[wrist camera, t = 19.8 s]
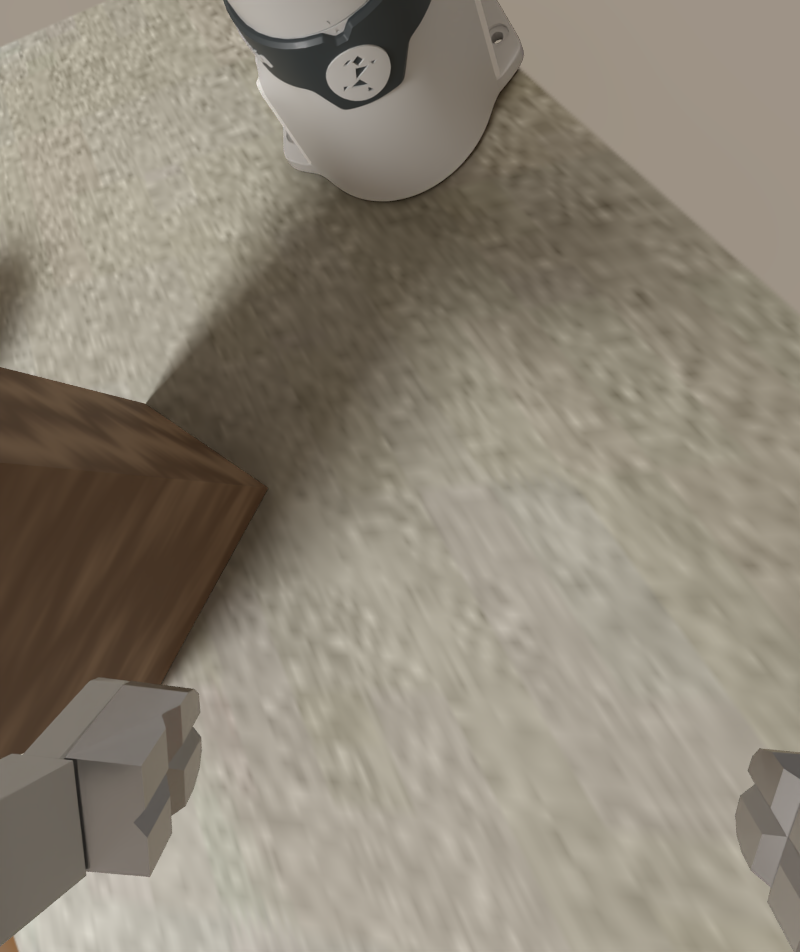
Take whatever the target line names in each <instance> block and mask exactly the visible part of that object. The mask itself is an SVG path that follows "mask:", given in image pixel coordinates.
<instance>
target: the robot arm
mask: <svg viewBox="0 0 800 952" xmlns="http://www.w3.org/2000/svg"><path fill="white" fill-rule="evenodd" d="M224 4H225V6H226V9H227V11H228V13H229V15H230V17H231V19H232V20H233V22H234V23H235V25H236V27H237V30H238V32H239V34H240V35H241V37H242V38H243V40H244V41H245V43H246V44H247V46H248V47H249V48H250V50H251V51H252V52H253V53H254V55H255V61H256V65H257V67H258V75H259V78H258V79H257V86H258V89H259V91H260V93H261V95H262V96H263V98H264V99H265V101H266V102H267V103H268V105H269V106H270V108H271V109H272V111H273V112H274V114H275V115H276V117H277V118H278V120H279V121H280V122H281V124H282V125H283V144H284V154H285V157H286V158H287V160H288V162H289V163H290V165H291V166H292V167H293V168H295V169H297V170H300V171H304V172H309V173H315V174H320V175H322V176H324V177H325V178H327V179H328V180H330V181H331V182H332V183H333V184H335V185H336V186H337V187H338V188H340V189H341V190H343V191H344V192H346V193H348V194H350V195H352V196H355V197H358V198H361V199H365V200H371V201H394V200H400V199H404V198H408V197H411V196H414V195H417V194H419V193H422V192H424V191H426V190H428V189H430V188H432V187H433V186H435V185H437V184H438V183H440V182H441V181H443V180H444V179H445V178H447V177H448V176H449V175H450V174H452V173H453V172H454V171H455V170H456V169H457V168H458V167H459V166H460V165H461V164H462V163H463V162H464V161H465V160H466V158H467V157H468V156H469V155H470V153H471V152H472V151H473V149H474V148H475V146H476V145H477V143H478V142H479V140H480V138H481V136H482V134H483V132H484V130H485V128H486V126H487V123H488V121H489V118H490V115H491V112H492V109H493V106H494V103H495V101H496V99H497V96H498V95H499V93H500V91H501V90H502V89H503V88H504V86H505V85H506V84H507V83H508V81H509V80H510V79H511V78H512V76H513V75H514V74H515V72H516V71H517V69H518V68H519V66H520V64H521V62H522V60H523V55H524V53H523V48H522V45H521V42H520V39H519V37H518V35H517V34H516V32H515V30H514V28H513V27H512V25H511V23H510V22H509V20H508V18H507V16H506V15H505V13H504V11H503V9H502V8H501V6H500V4H499V3H498V1H497V0H224ZM499 39H502V41H501V42H500V43H497V44H494V42H495V41H496V40H499ZM199 714H200V702H199V693H198V692H197V691H196V690H195V689H191V688H183V687H175V686H168V685H160V684H152V683H144V682H137V681H130V682H129V681H125V680H117V679H109V678H100V677H98V678H96V679H93V680H91V681H89V682H88V683H87V684H86V685H85V686H84V687H83V689H82V690H81V691H80V692H79V693H78V694H77V695H76V696H75V697H74V698H73V700H72V701H71V702H70V703H69V704H68V705H67V706H66V707H65V708H64V709H63V711H62V712H61V713H60V714H59V715H58V716H57V717H56V718H55V719H54V721H53V722H52V723H51V724H50V725H49V726H48V727H47V728H46V729H45V730H44V732H43V733H42V734H41V735H40V736H39V737H38V738H37V739H36V740H35V742H34V743H33V744H32V745H31V746H30V747H29V748H28V749H27V750H26V751H25V753H24V754H23V755H21V754H10V755H8V756H6V757H4V758H2V759H0V946H1V945H2V944H4V943H5V942H6V941H7V940H9V939H10V938H11V937H12V936H13V935H15V934H16V933H17V932H18V931H19V930H21V929H22V928H23V927H24V926H26V925H27V924H28V923H29V922H30V921H32V920H33V919H34V918H35V917H36V916H38V915H39V914H40V913H41V912H43V911H44V910H45V909H46V908H47V907H49V906H50V905H51V904H52V903H53V902H55V901H56V900H57V899H58V898H60V897H61V896H62V895H63V894H64V893H66V892H67V891H68V890H69V889H70V888H72V887H73V886H74V885H75V884H77V883H78V882H79V881H80V880H81V879H83V878H84V877H85V876H86V871H88V872H99V873H111V874H123V875H134V876H146V877H150V876H151V874H152V872H153V870H154V868H155V866H156V864H157V862H158V860H159V858H160V856H161V854H162V852H163V850H164V848H165V846H166V844H167V842H168V840H169V838H170V836H171V834H172V821H171V816H172V815H173V814H175V813H176V812H178V811H179V810H180V809H182V808H183V807H185V806H186V804H187V802H188V800H189V798H190V796H191V793H192V791H193V789H194V786H195V782H196V779H197V775H198V772H199V769H200V761H201V752H202V746H201V736H200V735H199V734H198V733H197V731H196V730H195V729H194V727H193V725H194V723H195V721H196V719H197V718H198V716H199ZM748 772H749V774H750V776H751V778H752V780H753V782H754V783H755V785H753V786H752V787H751V788H749V789H748V790H747V791H745V792H744V793H743V794H742V795H740V798H739V802H738V806H737V810H736V814H735V819H736V833H737V839H738V842H739V845H740V848H741V852H742V854H743V856H744V858H745V860H746V862H747V864H748V866H749V868H750V870H751V871H752V872H753V873H754V874H756V875H757V876H758V877H759V878H760V879H762V880H763V881H764V882H765V883H766V884H767V885H769V886H770V887H771V888H770V892H769V897H768V901H767V902H768V904H769V906H770V908H771V910H772V912H773V914H774V916H775V918H776V919H777V921H778V923H779V925H780V927H781V929H782V931H783V933H784V934H785V936H786V938H787V940H788V942H789V944H790V946H791V948H792V949H793V951H794V952H800V752H791V751H781V750H771V749H761V748H759V750H758V751H757V752H756V753H755V754H754V755H753V756H752V759H751V762H750V765H749V768H748Z"/></svg>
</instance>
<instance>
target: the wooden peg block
mask: <svg viewBox="0 0 800 952" xmlns="http://www.w3.org/2000/svg"><path fill="white" fill-rule="evenodd" d="M267 489H268V487H266V486H265V485H263V484H262V483H260V482H259V481H257V480H256V479H255V478H253V477H252V476H250V475H249V474H247V473H246V472H244V471H243V470H241V469H240V468H238V467H237V466H235V465H234V464H233V463H231V462H230V461H228V460H227V459H225V458H224V457H222V456H221V455H219V454H218V453H216V452H215V451H214V450H212V449H211V448H209V447H208V446H206V445H205V444H203V443H202V442H200V441H199V440H197V439H196V438H194V437H193V436H192V435H190V434H189V433H187V432H186V431H184V430H183V429H181V428H180V427H178V426H177V425H175V424H174V423H173V422H171V421H170V420H168V419H167V418H165V417H164V416H162V415H161V414H159V413H158V412H156V411H155V410H154V409H152V408H151V407H149V406H148V405H146V404H144V403H140V402H136V401H132V400H128V399H124V398H120V397H116V396H112V395H109V394H105V393H101V392H97V391H93V390H89V389H85V388H81V387H77V386H73V385H69V384H65V383H61V382H57V381H53V380H49V379H45V378H41V377H37V376H33V375H29V374H25V373H21V372H18V371H14V370H10V369H6V368H2V367H0V759H2V758H4V757H6V756H8V755H10V754H22V753H25V751H26V750H27V749H28V748H29V747H30V746H31V745H32V744H33V743H34V742H35V740H36V739H37V738H38V737H39V736H40V735H41V734H42V733H43V732H44V730H45V729H46V728H47V727H48V726H49V725H50V724H51V723H52V722H53V721H54V719H55V718H56V717H57V716H58V715H59V714H60V713H61V712H62V711H63V709H64V708H65V707H66V706H67V705H68V704H69V703H70V702H71V701H72V700H73V698H74V697H75V696H76V695H77V694H78V693H79V692H80V691H81V690H82V689H83V687H84V686H85V685H86V684H87V683H88V682H89V681H91V680H93V679H96V678H98V677H100V678H109V679H117V680H125V681H129V682H130V681H137V682H144V683H152V684H160V685H161V683H162V681H163V679H164V677H165V676H166V674H167V672H168V670H169V668H170V666H171V665H172V663H173V661H174V659H175V657H176V656H177V654H178V652H179V650H180V648H181V646H182V645H183V643H184V641H185V639H186V637H187V635H188V634H189V632H190V630H191V628H192V626H193V624H194V623H195V621H196V619H197V617H198V615H199V614H200V612H201V610H202V608H203V606H204V604H205V603H206V601H207V599H208V597H209V595H210V593H211V592H212V590H213V588H214V586H215V584H216V582H217V581H218V579H219V577H220V575H221V573H222V572H223V570H224V568H225V566H226V564H227V562H228V561H229V559H230V557H231V555H232V553H233V551H234V550H235V548H236V546H237V544H238V542H239V541H240V539H241V537H242V535H243V533H244V531H245V530H246V528H247V526H248V524H249V522H250V520H251V519H252V517H253V515H254V513H255V511H256V509H257V508H258V506H259V504H260V502H261V500H262V499H263V497H264V495H265V493H266V491H267Z"/></svg>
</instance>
